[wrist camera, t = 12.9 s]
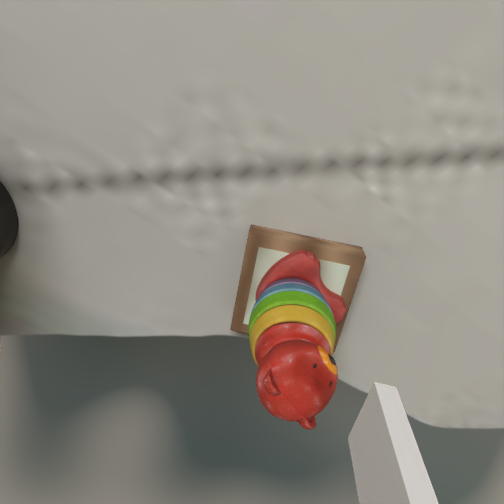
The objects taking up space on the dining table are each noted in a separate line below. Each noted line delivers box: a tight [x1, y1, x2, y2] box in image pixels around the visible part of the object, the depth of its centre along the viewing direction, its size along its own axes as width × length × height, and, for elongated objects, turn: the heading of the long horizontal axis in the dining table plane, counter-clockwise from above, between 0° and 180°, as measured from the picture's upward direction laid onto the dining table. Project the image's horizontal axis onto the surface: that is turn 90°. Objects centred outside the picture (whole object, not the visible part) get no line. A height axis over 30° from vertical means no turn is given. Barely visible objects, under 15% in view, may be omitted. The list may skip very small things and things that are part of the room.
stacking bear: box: [248, 250, 346, 429], centre depth 38 cm, size 11×10×18 cm
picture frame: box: [230, 225, 366, 352], centre depth 48 cm, size 14×14×3 cm
